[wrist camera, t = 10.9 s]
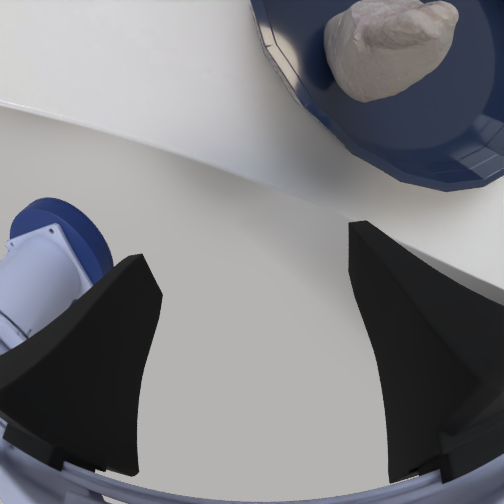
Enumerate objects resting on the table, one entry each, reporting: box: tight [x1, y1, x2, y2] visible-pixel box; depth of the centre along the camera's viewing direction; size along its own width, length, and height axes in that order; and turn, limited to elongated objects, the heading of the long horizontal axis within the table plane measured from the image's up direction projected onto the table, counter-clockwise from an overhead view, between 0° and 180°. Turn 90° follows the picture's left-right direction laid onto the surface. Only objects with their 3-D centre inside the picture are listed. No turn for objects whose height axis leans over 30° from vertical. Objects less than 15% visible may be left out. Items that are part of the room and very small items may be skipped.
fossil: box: [324, 0, 459, 103], centre depth 9 cm, size 6×4×10 cm, turn 155°
